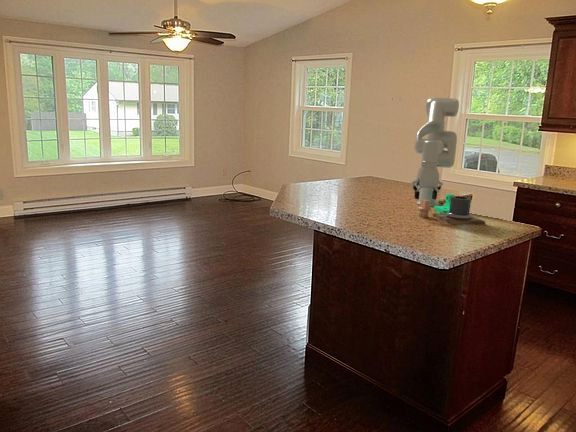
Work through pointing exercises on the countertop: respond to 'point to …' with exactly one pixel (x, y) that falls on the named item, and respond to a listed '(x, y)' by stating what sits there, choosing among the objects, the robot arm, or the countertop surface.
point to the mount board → (453, 221)
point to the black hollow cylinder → (459, 208)
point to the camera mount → (446, 206)
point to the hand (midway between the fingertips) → (425, 199)
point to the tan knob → (424, 208)
